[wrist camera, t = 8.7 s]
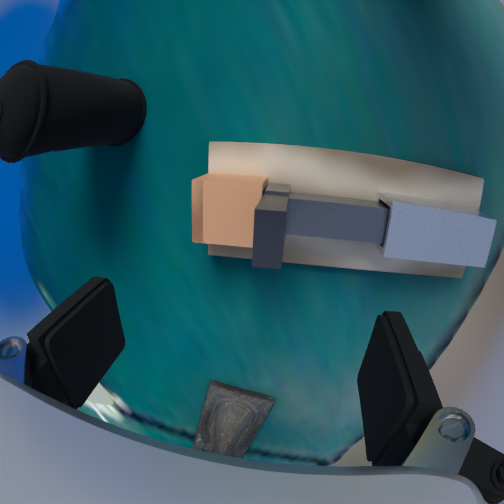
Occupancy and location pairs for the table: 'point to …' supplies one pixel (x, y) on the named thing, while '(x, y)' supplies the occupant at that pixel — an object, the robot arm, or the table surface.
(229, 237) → the socket
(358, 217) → the grey bar
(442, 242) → the pale blue rectangular box
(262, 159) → the base board
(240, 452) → the embossing press
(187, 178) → the table surface
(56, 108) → the aerosol can
